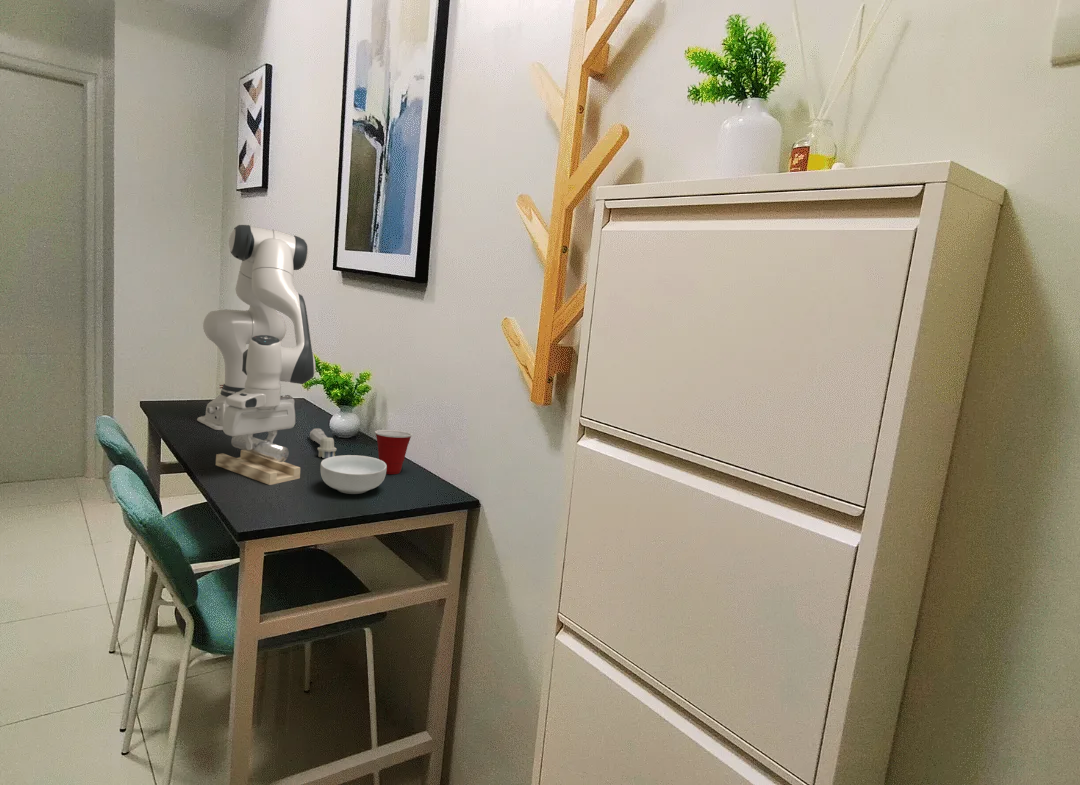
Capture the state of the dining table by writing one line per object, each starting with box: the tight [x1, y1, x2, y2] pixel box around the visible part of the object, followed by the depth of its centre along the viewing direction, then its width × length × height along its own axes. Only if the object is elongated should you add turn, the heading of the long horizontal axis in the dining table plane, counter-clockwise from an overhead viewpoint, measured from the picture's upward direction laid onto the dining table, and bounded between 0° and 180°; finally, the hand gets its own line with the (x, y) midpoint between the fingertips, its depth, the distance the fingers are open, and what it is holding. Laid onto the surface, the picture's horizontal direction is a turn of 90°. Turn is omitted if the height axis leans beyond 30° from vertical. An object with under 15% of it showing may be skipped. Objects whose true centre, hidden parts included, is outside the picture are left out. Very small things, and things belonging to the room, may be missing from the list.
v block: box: [215, 449, 301, 486], centre depth 179 cm, size 22×10×3 cm, turn 60°
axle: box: [231, 435, 290, 462], centre depth 178 cm, size 18×4×4 cm, turn 61°
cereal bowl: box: [319, 454, 387, 495], centre depth 174 cm, size 17×17×7 cm
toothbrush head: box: [309, 428, 337, 459], centre depth 209 cm, size 5×7×25 cm
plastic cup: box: [374, 429, 414, 475], centre depth 193 cm, size 11×11×12 cm
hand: (259, 448), depth 178 cm, fingers closed on axle, 4 cm apart
